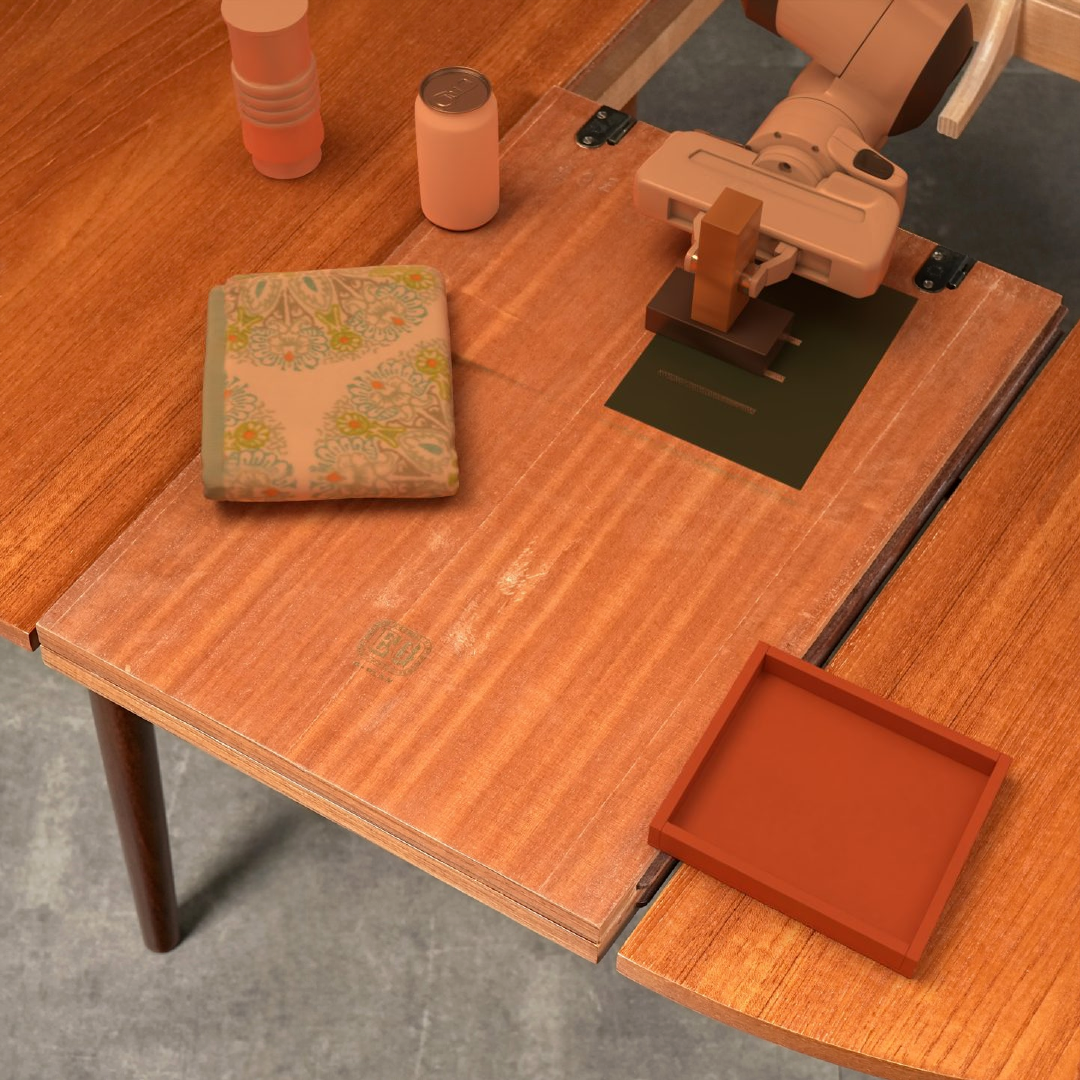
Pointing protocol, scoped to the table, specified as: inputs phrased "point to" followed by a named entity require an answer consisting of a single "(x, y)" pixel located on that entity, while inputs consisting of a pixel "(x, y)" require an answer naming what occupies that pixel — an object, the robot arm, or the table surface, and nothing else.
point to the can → (457, 148)
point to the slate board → (770, 381)
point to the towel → (329, 386)
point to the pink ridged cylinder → (275, 84)
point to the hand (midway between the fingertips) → (719, 278)
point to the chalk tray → (831, 806)
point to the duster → (722, 293)
